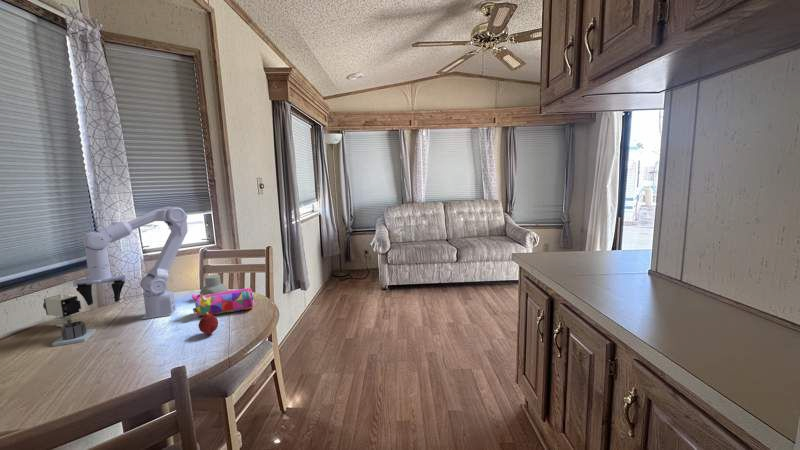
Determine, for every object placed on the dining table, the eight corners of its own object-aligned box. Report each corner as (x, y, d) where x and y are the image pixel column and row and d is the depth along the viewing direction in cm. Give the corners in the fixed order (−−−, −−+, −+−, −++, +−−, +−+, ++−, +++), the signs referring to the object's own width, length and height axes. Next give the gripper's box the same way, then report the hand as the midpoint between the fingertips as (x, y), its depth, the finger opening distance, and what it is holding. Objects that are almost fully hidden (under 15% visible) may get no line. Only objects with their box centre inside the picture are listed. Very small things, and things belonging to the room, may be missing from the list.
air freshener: (231, 294, 152) (229, 274, 150) (218, 301, 144) (216, 279, 142) (211, 293, 154) (209, 273, 153) (197, 299, 146) (194, 278, 144)
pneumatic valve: (69, 329, 117) (64, 297, 116) (45, 326, 120) (40, 295, 118) (86, 323, 123) (82, 292, 121) (64, 320, 125) (59, 290, 124)
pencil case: (192, 321, 123) (189, 298, 122) (196, 312, 131) (194, 291, 130) (254, 311, 132) (253, 290, 130) (254, 303, 140) (253, 283, 139)
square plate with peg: (95, 331, 115) (94, 320, 115) (84, 341, 108) (83, 330, 108) (66, 335, 112) (64, 325, 112) (52, 346, 105) (50, 334, 105)
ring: (88, 331, 114) (87, 320, 113) (81, 337, 109) (79, 326, 108) (68, 334, 112) (66, 323, 111) (59, 341, 107) (57, 329, 106)
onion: (222, 332, 113) (220, 310, 112) (207, 339, 108) (204, 317, 107) (211, 329, 116) (209, 308, 115) (196, 336, 111) (193, 314, 109)
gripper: (65, 271, 108) (71, 309, 110) (119, 266, 114) (124, 303, 115) (76, 266, 114) (82, 302, 116) (127, 261, 120) (132, 296, 122)
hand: (104, 302), depth 116 cm, fingers open, 7 cm apart
